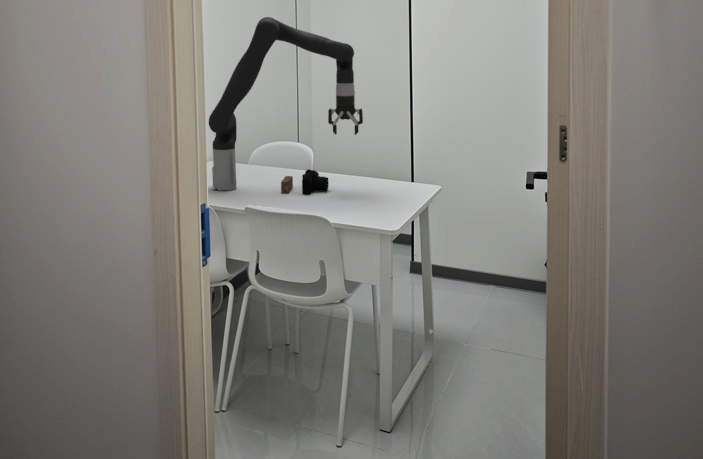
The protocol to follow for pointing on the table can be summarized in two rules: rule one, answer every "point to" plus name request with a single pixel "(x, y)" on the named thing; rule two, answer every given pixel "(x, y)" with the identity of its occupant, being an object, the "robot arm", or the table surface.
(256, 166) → the table surface
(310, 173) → the film camera
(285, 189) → the bar
